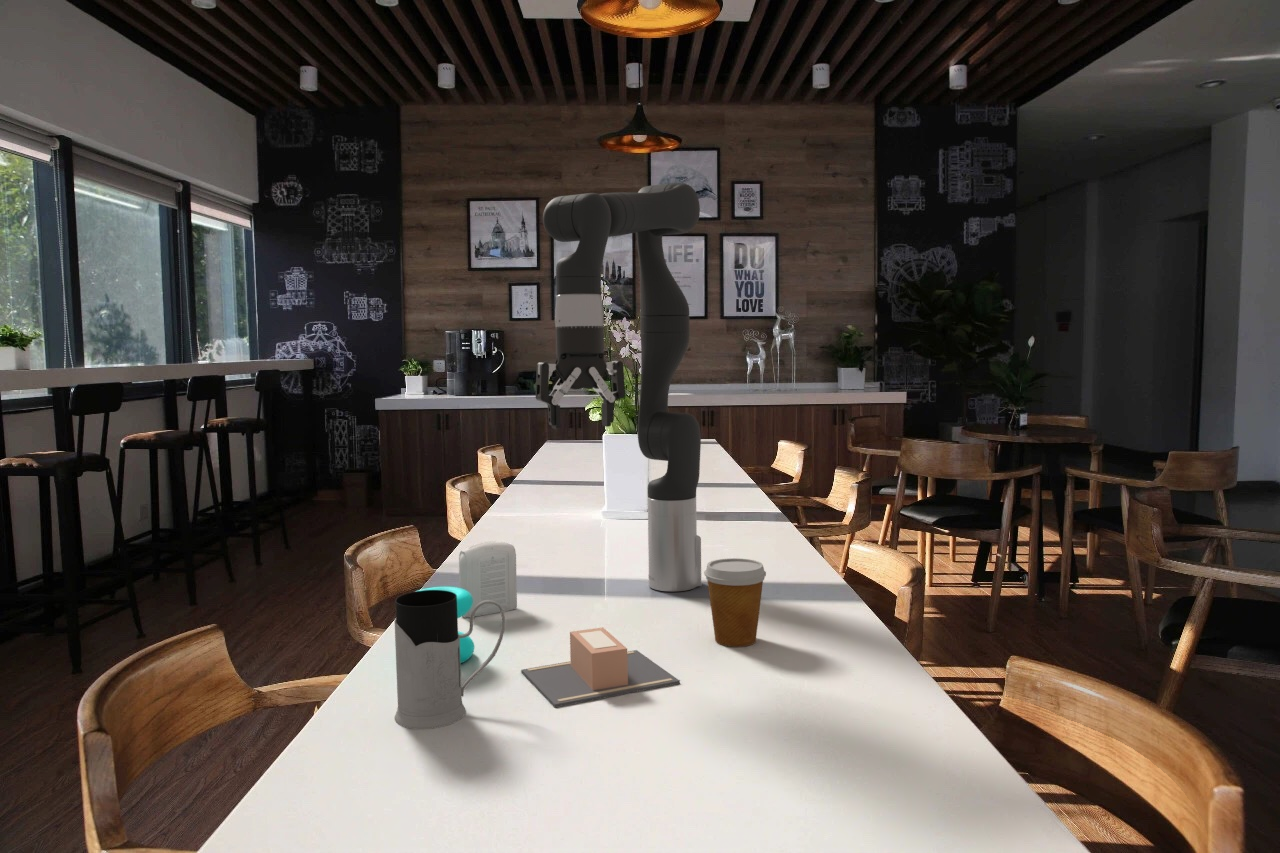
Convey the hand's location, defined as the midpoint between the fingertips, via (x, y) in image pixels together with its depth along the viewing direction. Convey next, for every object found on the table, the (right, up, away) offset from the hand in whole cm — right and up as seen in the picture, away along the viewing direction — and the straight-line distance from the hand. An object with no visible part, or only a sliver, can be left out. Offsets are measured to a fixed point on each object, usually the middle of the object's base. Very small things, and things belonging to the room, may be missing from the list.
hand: (581, 427), depth 144 cm
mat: (+3, -35, -18) cm, 39 cm away
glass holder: (-15, -36, -28) cm, 48 cm away
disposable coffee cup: (+24, -33, -3) cm, 41 cm away
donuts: (-20, -35, -9) cm, 41 cm away
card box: (+3, -34, -18) cm, 39 cm away
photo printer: (-17, -32, +15) cm, 39 cm away
